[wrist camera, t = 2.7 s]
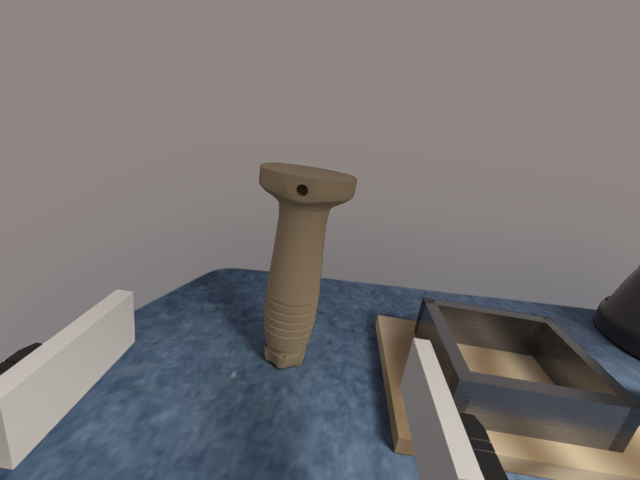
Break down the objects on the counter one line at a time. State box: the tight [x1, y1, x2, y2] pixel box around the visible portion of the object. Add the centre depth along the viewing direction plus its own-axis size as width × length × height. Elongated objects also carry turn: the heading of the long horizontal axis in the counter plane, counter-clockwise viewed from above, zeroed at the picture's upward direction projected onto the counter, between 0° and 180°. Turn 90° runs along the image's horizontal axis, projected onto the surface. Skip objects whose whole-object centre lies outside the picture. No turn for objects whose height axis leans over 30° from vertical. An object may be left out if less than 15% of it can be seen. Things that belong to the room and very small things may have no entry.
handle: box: [259, 163, 357, 369], centre depth 25 cm, size 5×6×15 cm
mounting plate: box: [375, 315, 640, 480], centre depth 27 cm, size 18×14×1 cm
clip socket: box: [414, 298, 640, 453], centre depth 27 cm, size 12×10×4 cm
